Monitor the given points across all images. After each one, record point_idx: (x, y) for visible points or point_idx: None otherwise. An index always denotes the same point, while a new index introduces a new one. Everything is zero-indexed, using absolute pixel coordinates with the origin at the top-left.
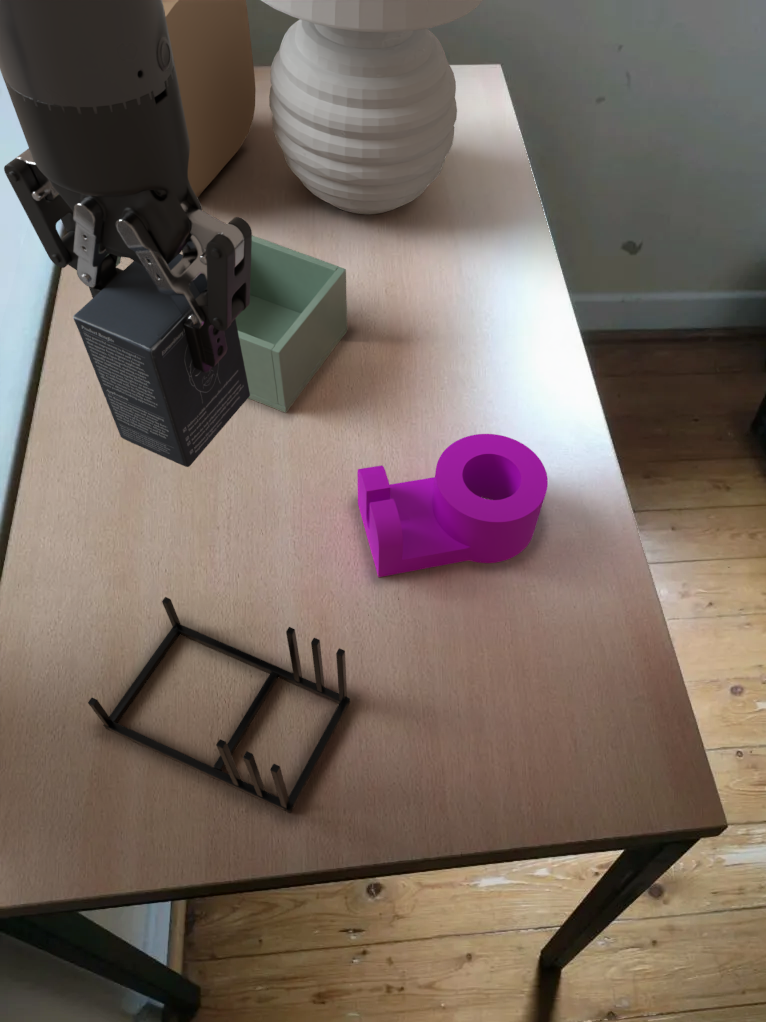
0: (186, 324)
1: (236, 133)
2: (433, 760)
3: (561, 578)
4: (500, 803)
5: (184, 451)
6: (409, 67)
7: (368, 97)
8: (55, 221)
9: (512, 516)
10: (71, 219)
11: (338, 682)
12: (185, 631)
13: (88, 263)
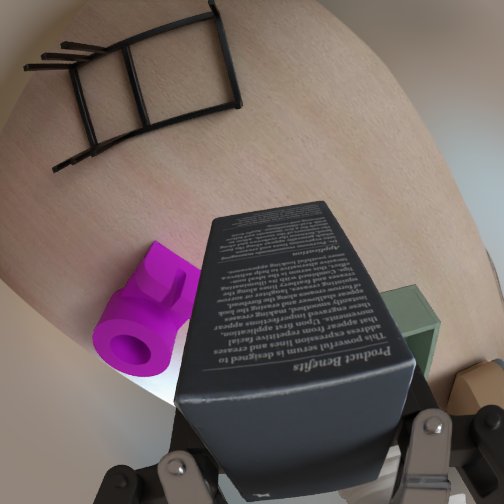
0: (202, 448)
1: (450, 411)
2: (37, 160)
3: (81, 308)
4: (3, 169)
5: (209, 234)
6: (361, 501)
7: (374, 484)
8: (499, 489)
9: (96, 333)
10: (481, 482)
11: (81, 152)
12: (229, 104)
13: (425, 468)
